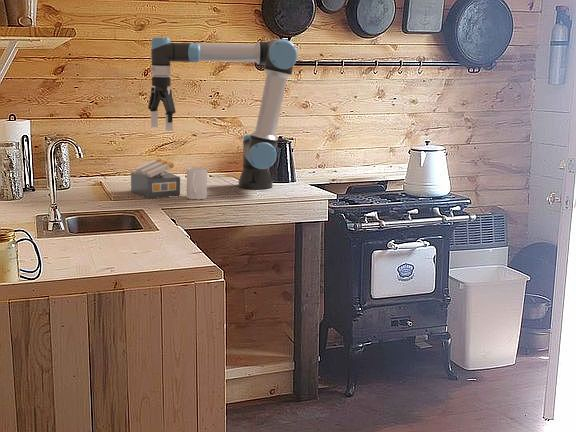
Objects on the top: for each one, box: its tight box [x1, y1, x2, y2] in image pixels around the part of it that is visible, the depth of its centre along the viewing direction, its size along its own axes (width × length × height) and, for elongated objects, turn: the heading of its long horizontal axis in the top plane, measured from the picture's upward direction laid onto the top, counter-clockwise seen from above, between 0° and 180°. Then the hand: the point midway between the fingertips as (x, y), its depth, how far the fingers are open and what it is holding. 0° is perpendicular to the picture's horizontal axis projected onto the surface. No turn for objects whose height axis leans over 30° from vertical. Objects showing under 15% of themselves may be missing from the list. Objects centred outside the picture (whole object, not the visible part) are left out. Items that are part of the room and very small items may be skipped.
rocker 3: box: [146, 162, 175, 178], centre depth 309 cm, size 11×3×2 cm, turn 121°
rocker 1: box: [134, 157, 162, 173], centre depth 318 cm, size 11×3×2 cm, turn 121°
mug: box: [185, 166, 208, 200], centre depth 308 cm, size 12×8×12 cm
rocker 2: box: [140, 159, 168, 175], centre depth 314 cm, size 11×3×2 cm, turn 121°
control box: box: [130, 171, 181, 199], centre depth 315 cm, size 14×18×10 cm
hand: (161, 128), depth 313 cm, fingers open, 13 cm apart
